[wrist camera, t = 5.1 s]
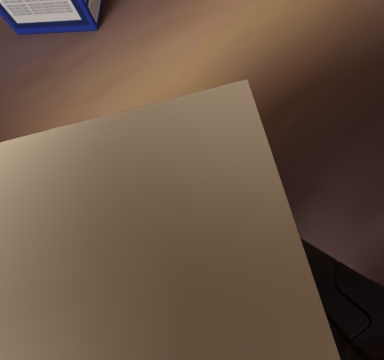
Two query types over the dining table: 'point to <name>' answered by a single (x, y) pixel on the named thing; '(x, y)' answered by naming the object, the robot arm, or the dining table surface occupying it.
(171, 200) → the birch block
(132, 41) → the dining table surface
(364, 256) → the dining table surface
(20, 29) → the milk carton
